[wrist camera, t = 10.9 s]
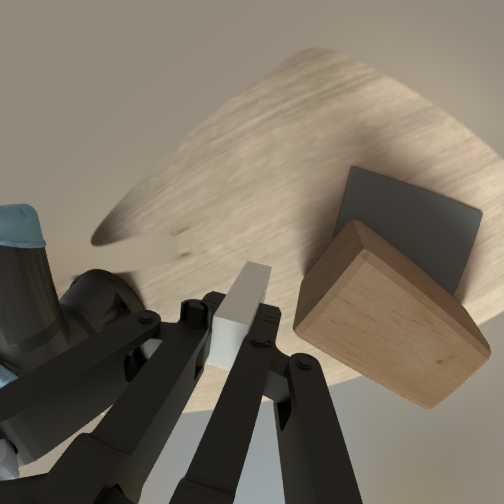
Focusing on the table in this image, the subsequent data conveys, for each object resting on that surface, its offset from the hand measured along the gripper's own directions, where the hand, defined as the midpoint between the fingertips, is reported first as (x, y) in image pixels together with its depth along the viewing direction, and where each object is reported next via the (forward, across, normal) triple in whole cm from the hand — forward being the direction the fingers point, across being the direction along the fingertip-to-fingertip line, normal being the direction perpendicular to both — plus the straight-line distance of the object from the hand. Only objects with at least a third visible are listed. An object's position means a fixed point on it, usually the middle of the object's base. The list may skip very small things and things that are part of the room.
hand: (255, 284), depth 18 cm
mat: (+15, +14, +2) cm, 20 cm away
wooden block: (+9, +5, -1) cm, 10 cm away
